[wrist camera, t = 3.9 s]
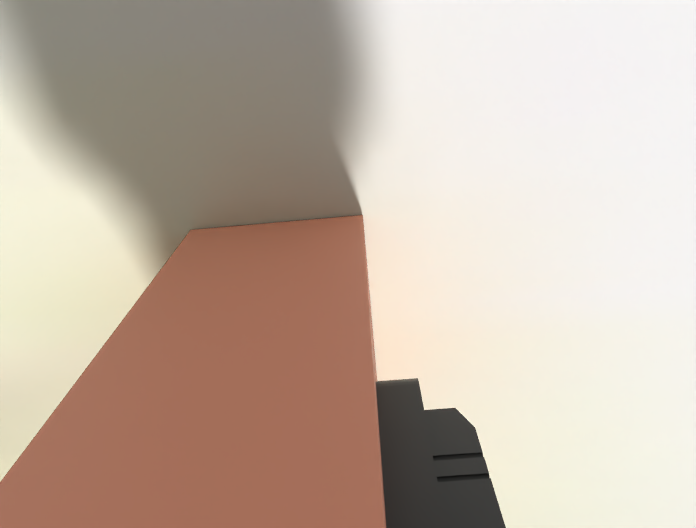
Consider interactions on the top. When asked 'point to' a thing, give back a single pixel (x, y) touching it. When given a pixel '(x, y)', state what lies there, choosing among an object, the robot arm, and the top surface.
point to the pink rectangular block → (223, 396)
